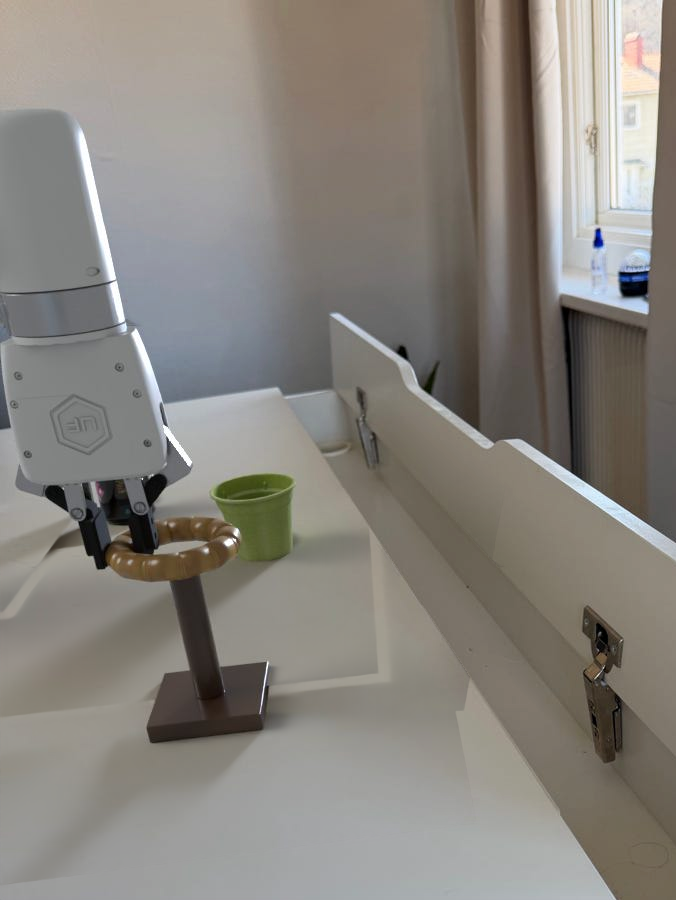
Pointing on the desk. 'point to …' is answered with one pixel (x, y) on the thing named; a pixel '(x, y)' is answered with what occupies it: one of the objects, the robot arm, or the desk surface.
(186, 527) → the ring
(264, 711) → the peg stand
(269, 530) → the plant pot
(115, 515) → the supplement container
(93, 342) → the robot arm
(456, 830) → the desk surface
